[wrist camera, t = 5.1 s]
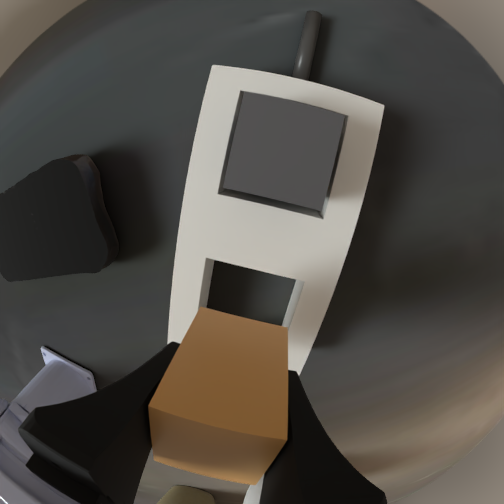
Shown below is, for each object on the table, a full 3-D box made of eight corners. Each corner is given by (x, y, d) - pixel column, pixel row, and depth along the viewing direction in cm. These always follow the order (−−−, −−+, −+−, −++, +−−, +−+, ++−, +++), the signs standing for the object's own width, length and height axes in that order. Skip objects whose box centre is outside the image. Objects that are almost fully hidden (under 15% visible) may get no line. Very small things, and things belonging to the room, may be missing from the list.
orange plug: (266, 386, 13) (255, 485, 8) (191, 368, 13) (154, 460, 8) (287, 327, 12) (287, 439, 6) (200, 306, 12) (148, 405, 6)
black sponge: (110, 145, 17) (78, 145, 13) (134, 258, 19) (107, 277, 16) (2, 199, 19) (-23, 206, 16) (21, 274, 22) (-2, 288, 18)
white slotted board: (297, 349, 20) (299, 375, 17) (181, 320, 20) (167, 343, 17) (379, 38, 12) (394, 20, 9) (245, 6, 12) (238, -16, 10)
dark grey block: (307, 194, 16) (321, 211, 11) (242, 179, 16) (223, 187, 11) (322, 131, 15) (344, 115, 9) (257, 116, 15) (244, 91, 9)
